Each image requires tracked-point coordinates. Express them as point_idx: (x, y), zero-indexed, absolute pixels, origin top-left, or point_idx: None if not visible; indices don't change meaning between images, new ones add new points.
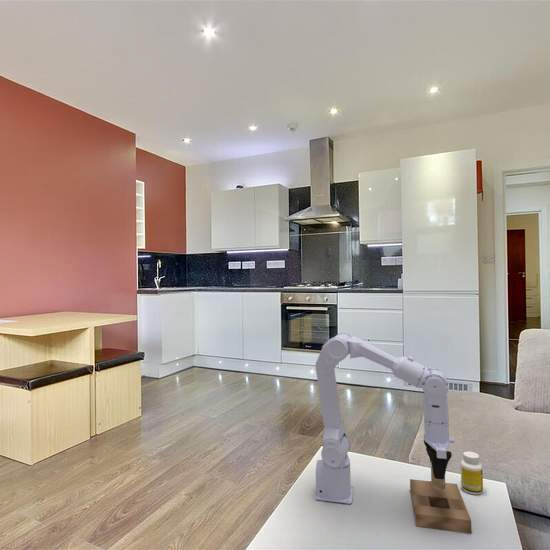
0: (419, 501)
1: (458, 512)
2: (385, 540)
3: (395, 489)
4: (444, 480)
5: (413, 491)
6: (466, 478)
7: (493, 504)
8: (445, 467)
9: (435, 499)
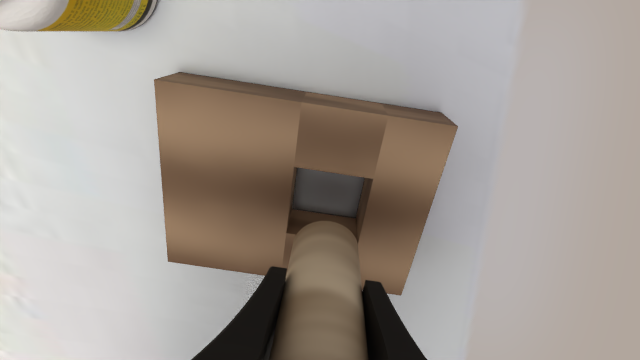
0: None
1: (399, 157)
2: (448, 341)
3: (194, 276)
4: (348, 255)
5: (259, 270)
6: (106, 15)
7: None
8: (418, 352)
9: (290, 203)
